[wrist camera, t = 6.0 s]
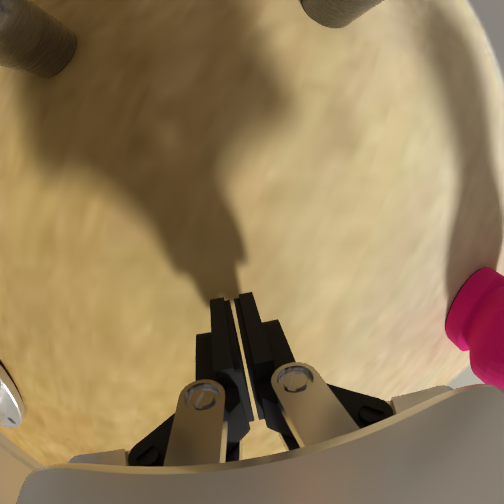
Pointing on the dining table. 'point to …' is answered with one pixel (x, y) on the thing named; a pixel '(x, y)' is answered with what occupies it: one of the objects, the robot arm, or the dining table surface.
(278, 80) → the dining table surface
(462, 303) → the pepper mill
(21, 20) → the post
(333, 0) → the post
